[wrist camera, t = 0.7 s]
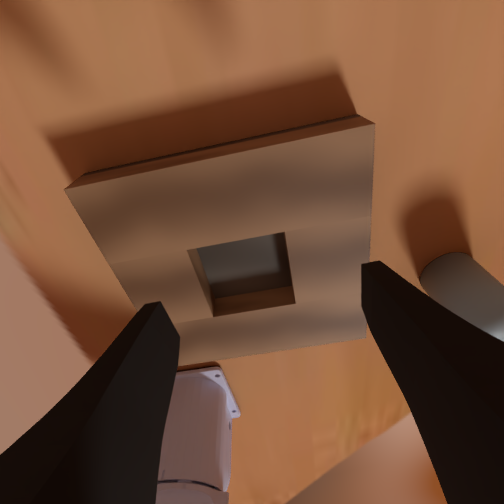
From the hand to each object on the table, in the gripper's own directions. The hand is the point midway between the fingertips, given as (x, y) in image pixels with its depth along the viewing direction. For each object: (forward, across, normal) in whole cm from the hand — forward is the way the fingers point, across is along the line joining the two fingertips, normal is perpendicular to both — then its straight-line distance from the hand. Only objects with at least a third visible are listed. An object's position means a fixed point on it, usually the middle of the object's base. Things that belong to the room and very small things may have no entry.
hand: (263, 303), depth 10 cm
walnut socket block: (+10, +2, +4) cm, 11 cm away
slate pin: (+10, -13, +10) cm, 19 cm away
